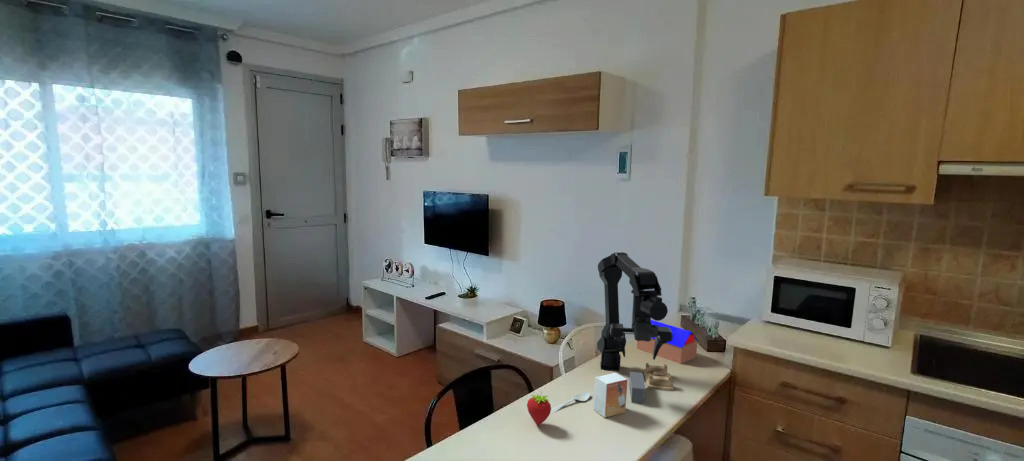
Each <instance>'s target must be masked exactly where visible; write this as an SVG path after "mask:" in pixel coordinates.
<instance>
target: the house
mask: <svg viewBox="0 0 1024 461" xmlns="http://www.w3.org/2000/svg"><path fill="white" fill-rule="evenodd" d="M651 325H658V327H669V328H670V330H671V332H672V335H673V337H672V341H671V342H670V341H668V342H667V343H664V344H663V345H662V346H661V348H660V349H659V351H658V354H657V356H656V357H660V358H661V359H662V358H663V359H666V360H669V361H671V362H674V363H677V364H679V365H682V364H684V363H686V362H688V361H691V360H692V359H695V358H696V357H697V350H698V341H699V340H698V337H696V336H695V334H694V333H693V332H692V331H691V330H686V329H684V328H680V327H677V326H674V325H671V324H666V323H664V322H660V321H656V320H654V319H651ZM636 341H637V340H636ZM654 344H655V338H654V337H651V341H649V342H646V341H637V344H636V349H638V350H639V351H642V352H646V353H649V354H652V355H653V351H654Z"/></svg>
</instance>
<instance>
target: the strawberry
mask: <svg viewBox="0 0 1024 461" xmlns="http://www.w3.org/2000/svg"><path fill="white" fill-rule="evenodd" d="M542 392H543V391H541V393H540V394H543V393H542ZM531 396H532V397H530V398H529V399H528V400H527V404H526V407H527V412H528V414H529V415H530V418H531V419H532V420H533V422H534V423H535V425H536V426H541V425H542V424H543V423H544V422H545V421H546V420H547V419H548V418H549V417H550V414H551V413H550V412H551V409H552V405H551V403H550V402H549V401H550V400H549V399H548V397H549V395H539V394H537V393H536V395H534V394H532V395H531Z"/></svg>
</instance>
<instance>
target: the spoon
mask: <svg viewBox="0 0 1024 461" xmlns="http://www.w3.org/2000/svg"><path fill="white" fill-rule="evenodd" d="M590 397H591V393H590V392H588V391H585V392H582V393H579V394H576V395H574V396H573V397H572V398H570V399H569V400H567V401H565V402H563V403H561V404H559V405H556V406H554V407H553V408H552V407H551V412H550V414H553V413H556V412H557V411H559V410H560V409H562V408H563V407H564V406H566V405H567V404H569V403H571V402H573V401H575V400H577V401H579V402H586V401H587V400H589V399H590ZM580 398H582V399H580Z"/></svg>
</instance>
